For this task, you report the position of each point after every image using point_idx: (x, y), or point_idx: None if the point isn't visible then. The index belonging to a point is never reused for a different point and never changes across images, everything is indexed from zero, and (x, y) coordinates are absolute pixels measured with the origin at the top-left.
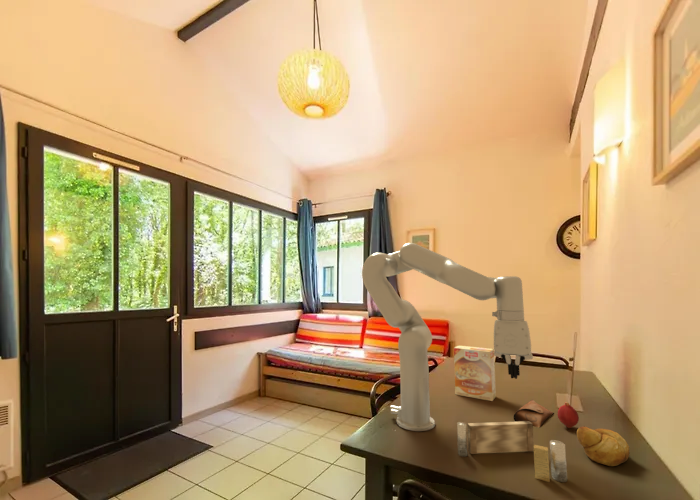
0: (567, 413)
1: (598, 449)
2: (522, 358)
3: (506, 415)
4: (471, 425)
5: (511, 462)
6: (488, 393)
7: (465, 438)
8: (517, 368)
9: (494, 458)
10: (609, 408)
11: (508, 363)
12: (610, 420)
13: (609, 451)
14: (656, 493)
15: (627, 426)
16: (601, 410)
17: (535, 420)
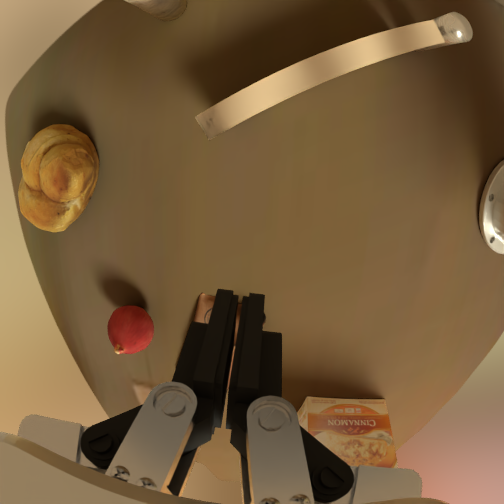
0: (123, 322)
1: (60, 134)
2: (103, 442)
3: (282, 338)
4: (430, 23)
5: (285, 28)
6: (315, 410)
7: None
8: (190, 365)
9: (333, 36)
10: (103, 394)
11: (274, 407)
12: (90, 355)
13: (43, 130)
14: (29, 71)
15: (67, 337)
16: (110, 388)
17: (208, 314)
